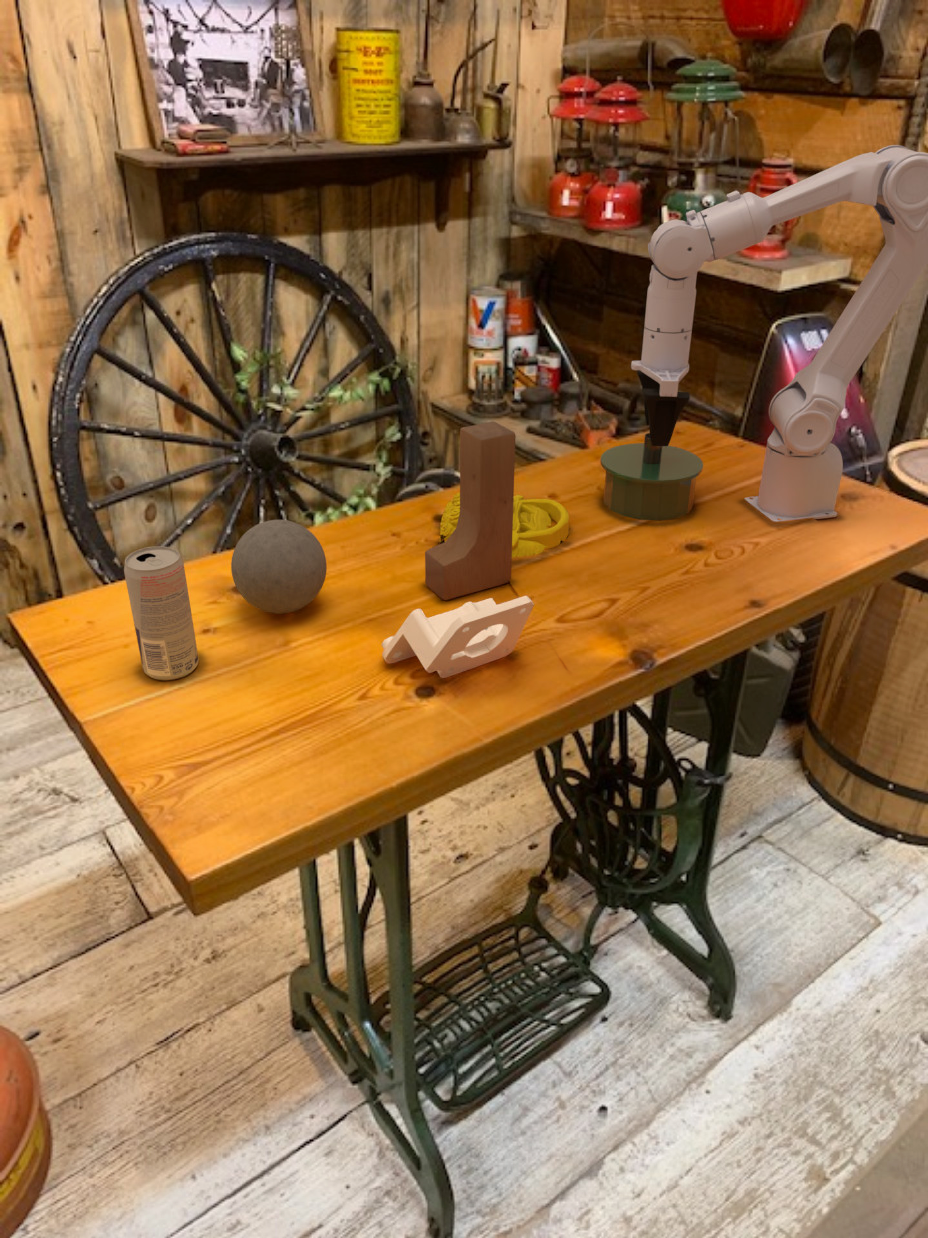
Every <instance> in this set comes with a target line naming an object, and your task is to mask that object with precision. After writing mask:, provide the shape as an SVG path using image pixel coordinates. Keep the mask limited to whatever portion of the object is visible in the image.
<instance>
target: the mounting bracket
mask: <svg viewBox="0 0 928 1238" xmlns="http://www.w3.org/2000/svg"><path fill="white" fill-rule="evenodd" d="M534 606H535V603H534V601H532V599H531V597H529V596H528V595H523V596H520V597H517V598H514V599H511V600H508V601H504V602H500V603H498V604H497V602H495V600H494V598H493V597H489V598H486V599H483V600H480V601H475V602H472V601H467V602H465V603H464V604H463V605H461V606H460V607H457V608H454V609H451V610H448V611H444V612H442V613H439V614H435V615H433V616H429V617H427V616H426V615H425V613H424V611H423V610H422V609H421V608H416V609H414V610H412V611H411V612H410V613H409V615H408V616H407V617H406V619H405V620H404V622H403V623H402V625H401V626H400V627H399V628H398V630H397V631H396V633H395V634H394V635H391V636H389V637H387V638H385V639H384V640H383V641H382V643H381V647H382V649H383V651H382V653H381V657H382V658H383V660H384V661H385V663H386V664H396V663H398V662H401V661H403V660H406V659H411V658H413V657H417V659H418V660H419V662H420V664H421V666H422V667H423V668H424V670H425V671H426V672H427V673H428V674H430V673H433V672H437V674H438V675H439V677H440V678H441V679H446V678H450V677H451V676H454V675H458V674H461V673H463V672H466V671H468V670H471V669H474V668H477V667H480V666H482V665H486V664H488V663H491V662H494V661H497V660H499V659H503V658H505V657H508V655H510V654H511V653H512V652H513V651H514V650H515V648H516V646H517V643H518V641H519V639H520V637H521V634H522V632H523V630H524V628H525V626H526V623H527V621H528V619H529V617H530V615H531V613H532V610H533V608H534Z"/></svg>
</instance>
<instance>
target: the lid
mask: <svg viewBox="0 0 928 1238" xmlns="http://www.w3.org/2000/svg"><path fill="white" fill-rule="evenodd" d="M599 463H600V466H601V467H602V468H603V470H605V472H606V471H607V472H609V473H611V474H613V475H615V476H617V477H620V478H623V479H626V480H630V481H635V482H641V483H651V484H669V483H678V482H684V481H688V480H691V479H693V478H695V477H696V478H698V477H699V476H700V475H701V474H702V472H703V470H704V462H703V460H702V459H701V458H700V457H699V456H698V455H696V454H695V453H693V452H691V451H689V450H686V449H683V448H681V447H677V446H672V445H670V444H669V445H668V446H652V445H651V440H650V432H648V433H645V434H644V440H643V442H637V443H636V442H635V443H626V444H621V445H616V446H613V447H610V448H609V449H607V450H605V451H604V452H602V454H601V456H600V462H599Z"/></svg>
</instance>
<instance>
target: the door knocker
mask: <svg viewBox="0 0 928 1238" xmlns="http://www.w3.org/2000/svg"><path fill="white" fill-rule="evenodd" d="M459 514H460V492H457V493H455V494H454V495H453V496H452V499H451V500H450V501H448V502H447V504H446V505H445V507H444V509H443V513H442V514H441V515H442V516H441V520H440V523H439V536H440V537H439V543H442V541H443V540H444V542H446V541H447V539H448V538H449V537H450V536H451V534H452V533H453V532H454V530H455V529H456V527H457V523H458V518H459ZM552 520H553V521H554V522H555V523H556V524H555V525H554V526H552ZM569 533H570V514H569V512H568V510H567V509H566V507H564V506H563V505H562V504H561V503H560V502H558V501H556V500H553V499H549V498H529V499H527V498H526V499H524V495H523V494H516V495H514V499H513V530H512V559H514V558H516V557H517V558H523V557H531V556H533V555H535V556H536V555H539V554H542V553H543V552H544V551H546V550H549V549H553V548H555V547H558V546H559V545H561V541H562V542H565V541H566V540H567V539H568V536H569Z"/></svg>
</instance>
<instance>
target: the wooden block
mask: <svg viewBox="0 0 928 1238" xmlns="http://www.w3.org/2000/svg"><path fill="white" fill-rule="evenodd" d="M516 438H517V437H516V432H515V431H512V430H511V429H509V428H507V427H505V426H504V425H502V424H500V423H498V422H497V421H488V422H483V423H478V424H473V425H469V426H463V427H461V428H460V430H459V493H460V514H459V518H458V523H457V527H456V529H455V530H454V532H453V533H452V534H451V536H450V537H449V538H448V539H447V541H446V542H445V541H444V542H441V543H440V544H438V545H435V546H433V547H431V548H428V549H427V550H425V552H424V572H425V573H424V574H425V575H424V576H425V581H424V582H425V585H426V587H427V588H429V589H430V590H431V591H432V592H433V593H434V594H436V595H437V596H438V597H439V598H440V599H441V600H443V601H449V600H452V599H455V598H459V597H462V596H466V595H470V594H473V593H476V592H480V591H483V590H487V589H491V588H494V587H497V586H502V585H505V584H509V583H510V582H511V581H510V580H511V579H512V561H513V558H512V530H513V499H514V496H515V495H514V493H515V465H516Z"/></svg>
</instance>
